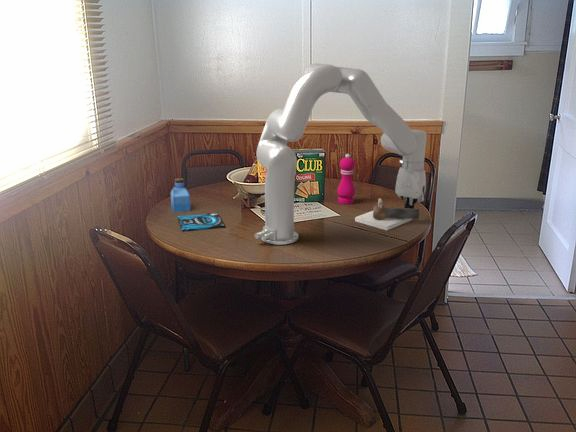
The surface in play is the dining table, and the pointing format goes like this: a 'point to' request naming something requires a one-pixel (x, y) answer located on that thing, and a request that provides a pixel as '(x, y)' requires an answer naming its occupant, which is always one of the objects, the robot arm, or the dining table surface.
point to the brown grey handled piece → (394, 212)
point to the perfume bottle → (180, 197)
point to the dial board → (380, 221)
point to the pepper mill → (346, 181)
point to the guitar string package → (200, 222)
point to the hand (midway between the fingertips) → (408, 214)
